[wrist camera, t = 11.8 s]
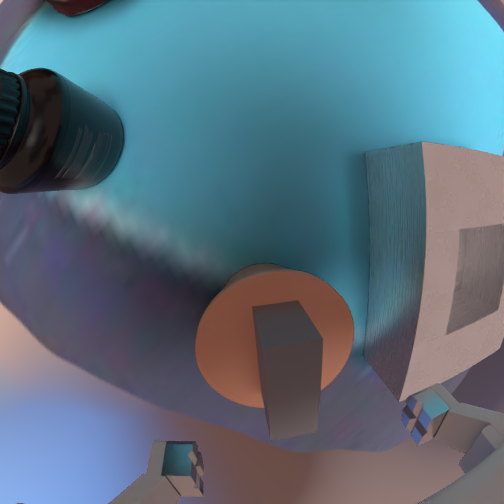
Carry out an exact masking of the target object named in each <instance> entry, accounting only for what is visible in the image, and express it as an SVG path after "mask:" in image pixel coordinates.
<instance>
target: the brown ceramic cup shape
mask: <svg viewBox="0 0 504 504" xmlns="http://www.w3.org/2000/svg"><path fill="white" fill-rule="evenodd" d="M45 1H47V2H48V3H49V4H50V5H52V7H53V8H54V9H55V10H56V11H58V12H59V13H63V14H65V15H66V16H74V15H77V14H81V13H84V12H87V11H89V10H91V9H93V8H96V7H98V6H99V5H101V4H103V3H104V2H106V1H108V0H45Z"/></svg>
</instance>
